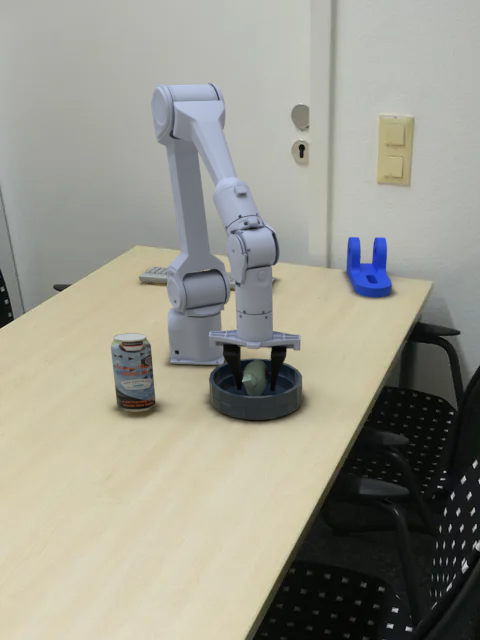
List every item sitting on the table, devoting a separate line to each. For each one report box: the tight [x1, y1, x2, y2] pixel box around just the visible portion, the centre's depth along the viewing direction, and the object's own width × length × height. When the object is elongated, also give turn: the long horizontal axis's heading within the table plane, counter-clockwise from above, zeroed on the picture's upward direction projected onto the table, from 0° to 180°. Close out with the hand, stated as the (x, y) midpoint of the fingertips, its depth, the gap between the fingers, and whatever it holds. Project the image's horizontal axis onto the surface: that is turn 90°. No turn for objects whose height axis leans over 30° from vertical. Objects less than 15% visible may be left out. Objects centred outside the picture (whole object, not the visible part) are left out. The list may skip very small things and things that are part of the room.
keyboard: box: [138, 265, 276, 289], centre depth 177 cm, size 29×10×2 cm, turn 86°
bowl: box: [208, 357, 303, 421], centre depth 130 cm, size 15×15×4 cm
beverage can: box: [110, 332, 157, 413], centre depth 123 cm, size 6×7×12 cm
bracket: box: [345, 236, 392, 298], centre depth 179 cm, size 18×8×9 cm, turn 9°
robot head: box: [242, 360, 269, 396], centre depth 129 cm, size 8×4×7 cm, turn 173°
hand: (256, 388), depth 129 cm, fingers open, 5 cm apart
